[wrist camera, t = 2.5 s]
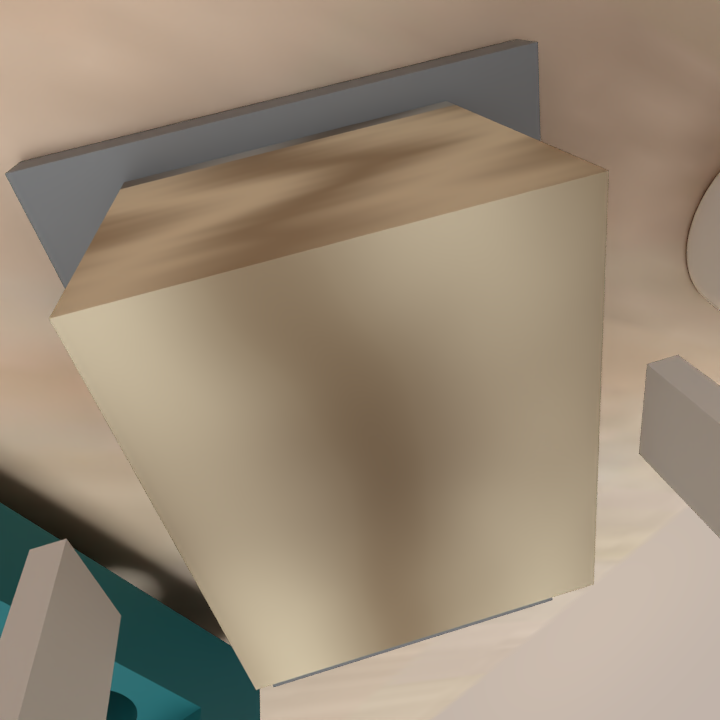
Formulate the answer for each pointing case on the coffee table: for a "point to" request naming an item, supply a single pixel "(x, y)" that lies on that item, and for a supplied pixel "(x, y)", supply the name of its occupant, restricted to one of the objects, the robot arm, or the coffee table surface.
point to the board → (264, 128)
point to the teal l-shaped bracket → (145, 645)
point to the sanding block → (357, 377)
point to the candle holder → (706, 245)
